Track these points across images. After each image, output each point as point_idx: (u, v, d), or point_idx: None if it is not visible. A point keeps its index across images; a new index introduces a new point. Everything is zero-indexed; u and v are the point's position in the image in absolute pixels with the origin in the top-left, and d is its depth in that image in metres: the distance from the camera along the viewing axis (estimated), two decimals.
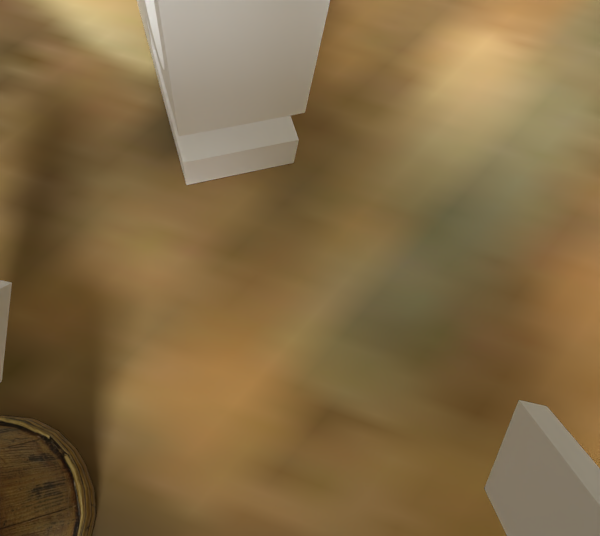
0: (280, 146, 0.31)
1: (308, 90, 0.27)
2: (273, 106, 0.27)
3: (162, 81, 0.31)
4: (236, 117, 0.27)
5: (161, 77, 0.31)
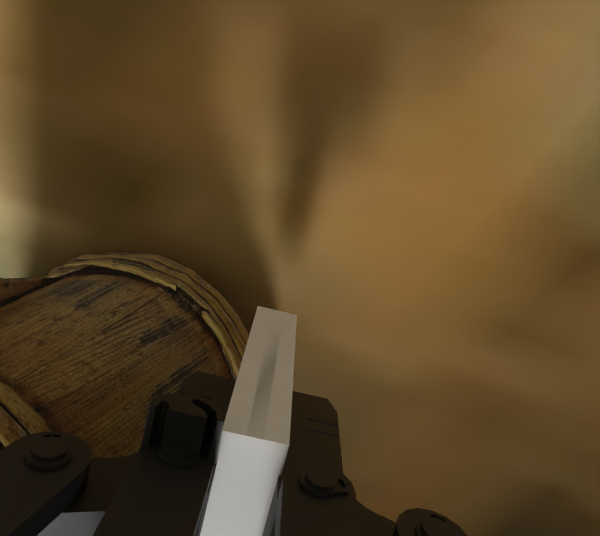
0: None
1: None
2: None
3: None
4: None
5: None
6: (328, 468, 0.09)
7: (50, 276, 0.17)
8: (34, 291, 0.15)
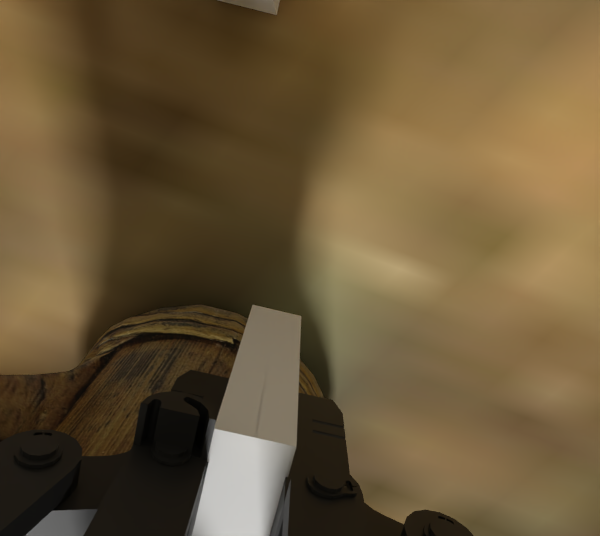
0: None
1: None
2: None
3: None
4: None
5: None
6: (336, 470, 0.09)
7: (102, 350, 0.17)
8: (97, 375, 0.15)
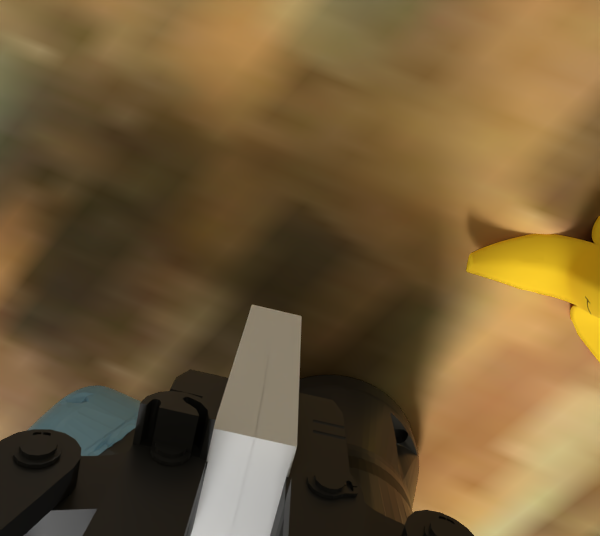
0: None
1: None
2: None
3: None
4: None
5: None
6: (336, 470, 0.09)
7: None
8: None
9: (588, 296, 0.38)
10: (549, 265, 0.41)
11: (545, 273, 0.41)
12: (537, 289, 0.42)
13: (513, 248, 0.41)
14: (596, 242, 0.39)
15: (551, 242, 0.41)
